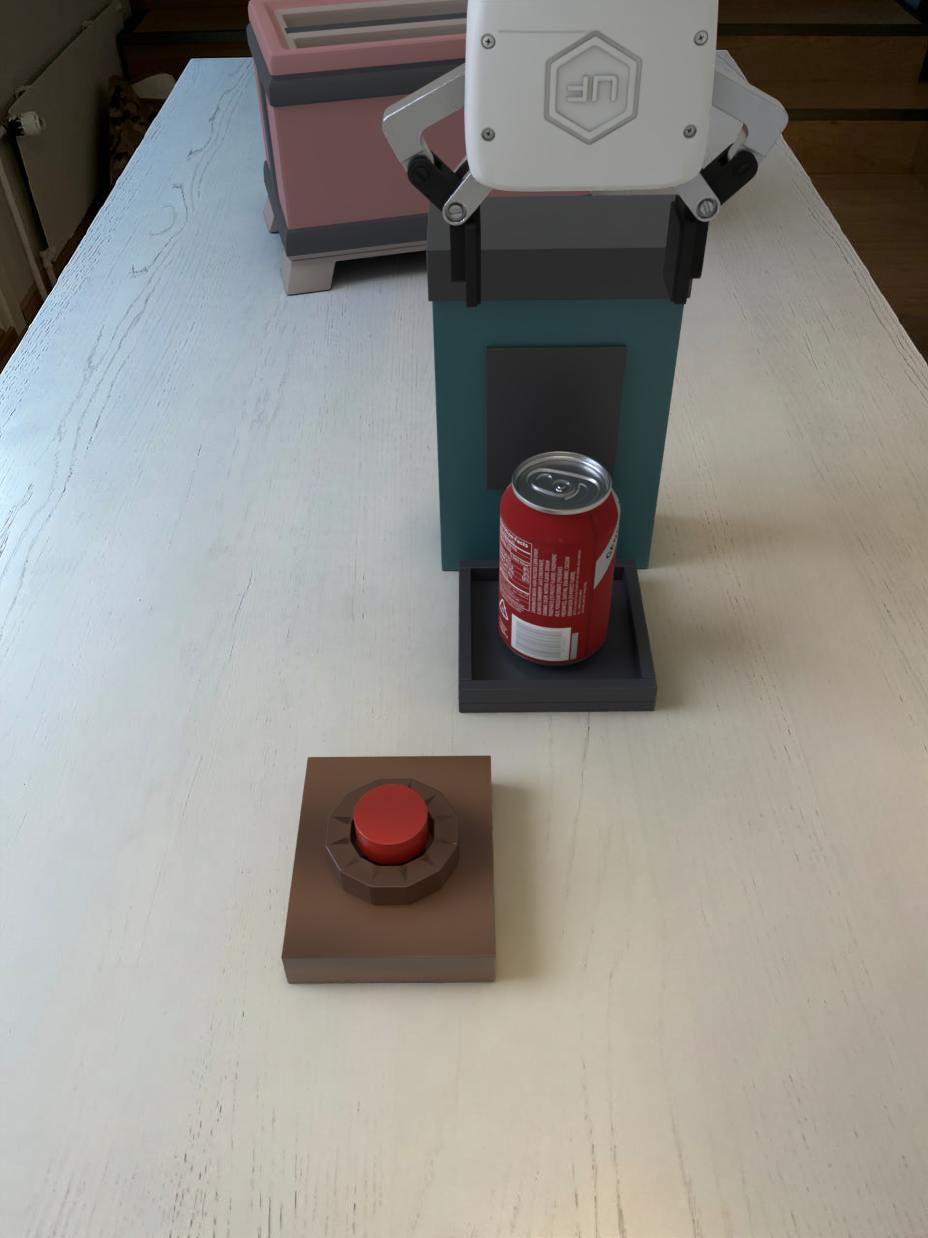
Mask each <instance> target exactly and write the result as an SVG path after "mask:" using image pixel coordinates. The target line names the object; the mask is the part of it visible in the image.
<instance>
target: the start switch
mask: <svg viewBox="0 0 928 1238" xmlns="http://www.w3.org/2000/svg"><path fill="white" fill-rule="evenodd" d="M387 784H398V785H403V786H407V787H409V788H411V789H413V790H415V791H416V792H417V793H418V794H420V795H421V797H422V798H423V799H424V801H425V803H426V806H427V811H428V828H429V836H428V841H427V843H426V846H425V847H424V849H423V850H422V851H421V852H420V853H419V854H418V855H417V856H416V857H415V858H413V859H411V860H410V861H407V862H405V863H401V864H396V865H385V864H380V863H377V862H375V861H372V860H371V859H369V858H368V857H366V856H365V855H364V854H363V853H362V851H361V850H360V848H359V846H358V843H357V838H356V831H355V824H354V810H355V807H356V805H357V803H358V801H359V800H360V799H361V797H362V796H363V795H364V794H366V793H367V792H368V791H370V790H372V789H374V788H376V787H378V786H382V785H387ZM492 786H493V785H492V756H491V755H397V756H396V755H395V756H394V755H389V756H387V755H383V756H379V755H378V756H376V755H375V756H307V758H306V767H305V775H304V782H303V790H302V798H301V805H300V812H299V820H298V827H297V836H296V842H295V851H294V857H293V858H294V859H293V866H292V873H291V881H290V888H289V897H288V902H287V903H288V904H287V912H286V918H285V927H284V933H283V943H282V948H281V949H282V950H281V956H280V958H281V962H282V966H283V970H284V974H285V977H286V982H287V984H324V983H325V984H331V983H332V984H334V983H337V984H338V983H339V984H340V983H341V984H345V983H349V984H350V983H481V982H483V983H484V982H489V983H490V982H491V983H493V982H496V921H495V920H496V919H495V917H496V916H495V913H496V911H495V876H494V869H495V868H494V832H493V831H494V829H493V826H494V825H493V791H492V790H493V789H492Z"/></svg>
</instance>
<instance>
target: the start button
mask: <svg viewBox="0 0 928 1238" xmlns="http://www.w3.org/2000/svg"><path fill="white" fill-rule="evenodd" d="M354 824H355V831H356V838H357V843H358V846H359V848H360V850H361V851H362V853H363V854H364V855H365V856H366V857H368V858H369V859H371V860H372V861H375V862H377V863H380V864H385V865H396V864H401V863H405V862H407V861H410V860H411V859H413V858H415V857H416V856H417V855H418V854H419V853H420V852H421V851H422V850H423V849H424V847H425V846H426V843H427V841H428V836H429V828H428V811H427V806H426V803H425V801H424V799H423V798H422V797H421V795H420V794H418V793H417V792H416V791H415V790H413V789H411V788H409V787H407V786H403V785H398V784H387V785H382V786H378V787H376V788H374V789H372V790H370V791H368V792H367V793H366V794H364V795H363V796H362V797H361V799H360V800H359V801H358V803H357V805H356V807H355V810H354Z"/></svg>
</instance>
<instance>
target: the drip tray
mask: <svg viewBox="0 0 928 1238" xmlns="http://www.w3.org/2000/svg"><path fill="white" fill-rule="evenodd" d="M457 647H458V650H457V651H458V658H457V660H458V661H457V663H458V665H457V667H458V669H457V671H458V672H457V673H458V674H457V675H458V678H457V680H458V681H457V682H458V683H457V684H458V685H457V686H458V687H457V688H458V689H457V693H458V694H457V695H458V697H457V698H458V713H533V712H534V713H535V712H536V713H542V712H543V713H545V712H639V711H640V712H645V711H646V712H648V711H650V712H652V711H655V707H656V701H657V693H658V683H657V676H656V670H655V664H654V660H653V653H652V648H651V642H650V636H649V630H648V624H647V619H646V613H645V606H644V602H643V596H642V590H641V584H640V577H639V573H638V569H637V567H636V562H635V559H615V566H614V575H613V584H612V594H611V603H610V612H609V621H608V631H607V636H606V639H605V641H604V643H603V645H602V646H601V648H600V649H599V650H598V651H597V652H596V653H594V654H593V655H592V656H590V657H588V658H587V659H585V660H583V661H580V662H577V663H574V664H569V665H563V666H548V665H541V664H537V663H533V662H530V661H528V660H525V659H523V658H521V657H519V656H518V655H516V654H515V653H514V652H512V651H511V650H510V649H509V648H508V647H507V646H506V645H505V643H504V642H503V640H502V638H501V636H500V632H499V560H460V561H459V570H458V646H457Z"/></svg>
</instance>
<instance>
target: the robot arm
mask: <svg viewBox="0 0 928 1238" xmlns="http://www.w3.org/2000/svg"><path fill="white" fill-rule="evenodd" d="M718 21H719V0H468V7H467V32H466V56H465V63H464V64H462V65H460V66H458V67H457V68H455V69H453V70H452V71H450V72H448V73H446V74H445V75H443V76H441V77H439V78H438V79H436V80H434V81H433V82H431V83H429V84H427V85H426V86H424V87H422V88H420V89H419V90H417V91H415V92H414V93H412V94H410V95H408V96H407V97H405V98H403V99H401V100H400V101H398V102H396V103H395V104H393V105H391V106H389V107H388V108H387V109H386V110H385V112H384V114H383V120H382V131H383V133H384V135H385V137H386V139H387V140H388V142H389V144H390V146H391V147H392V149H393V151H394V153H395V154H396V156H397V158H398V160H399V162H400V163H401V164H402V165H403V167H404V169H405V171H406V172H407V176H408V179H409V181H410V182H411V184H412V185H413V186H415V187H416V188H417V189H418V190H419V191H420V192H421V193H422V194H423V195H424V196H425V197H426V198H427V199H428V200H429V201H430V202H432V203H433V204H434V205H435V206H436V207H437V208H438V209H439V210H440V211H441V212H442V213H443V217H444V219H445V221H446V222H447V223H449V224H450V257H451V282H466V307H477V304H481V216H480V204H481V203H482V202H483V200H484V199H485V198H486V197H487V196H488V194H489V193H490V192H491V191H492V190H493V189H497V190H503V191H531V192H538V191H591V192H598V191H599V192H601V191H603V192H607V191H608V192H609V191H642V190H643V191H645V190H662V189H663V190H664V189H669V188H673V189H674V190H675V192H676V193H677V194H675V195H676V196H675V201H672V202H671V206H670V215H669V223H668V232H667V241H666V249H665V258H664V266H663V279H664V282H665V286H666V289H667V292H668V296H669V299H670V302H674V304H684V305H686V304H687V302H688V298H687V295H688V288H689V280H690V279H693V280H698V279H699V280H700V279H701V278H702V275H703V267H704V262H705V253H706V247H707V240H708V233H709V225H710V222H711V221H713V220H714V219H716V217H718V215H719V214H720V212H721V208H722V206H723V205H724V204H725V203H726V202H727V201H728V200H730V199H731V198H732V197H733V196H734V195H735V194H736V193H738V192H739V191H740V190H741V189H742V188H743V187H745V186H746V185H747V184H748V183H749V182H750V181H751V180H753V178H754V177H756V175H757V173H758V170H759V165H760V164H761V162H763V159H764V158H766V157H767V156H768V154H769V152H770V151H771V149H772V148H773V147H774V145H775V144H776V142H777V141H778V139H779V138H780V136H781V135H782V133H783V132H784V130H785V128H787V126H788V123H789V114H788V113H787V111H786V109H785V107H784V105H783V104H782V103H781V102H780V101H779V99H776V98H774V97H773V96H771V95H770V94H768V93H766V92H764V91H762V90H761V89H759V88H757V86H754V85H753V84H751V83H749V82H747V81H745V80H744V79H742V78H740V77H739V76H737V75H735V74H733V73H731V72H730V71H729V70H726V69H725V68H723V67H722V66H720V65H718V64H716V56H717V54H716V53H717V37H718ZM463 107H464V119H465V142H466V153H467V154H466V155H465V157H464V158H463V159H462V160H461V162H460V163H459V164H458V165H457V167H456V168H455V169H454V170H453V171H452V170H451V169H450V168H449V167H448V166H447V165H446V164H445V163H444V162H443V161H442V160H441V159H440V158H439V157H438V156H437V155H436V154H435V153H433V152H432V151H431V150H430V149H429V147H428V146H427V144H426V142H425V139H424V137H423V135H422V131H424V130H425V129H426V128H428V127H429V126H431V125H433V124H435V123H437V122H438V121H440V120H442V119H444V118H445V117H447V116H449V115H451V114H453V113H454V112H456V111H458V110H460V109H461V108H463ZM713 107H714V108H716V109H717V110H718V111H721V112H722V113H724V114H726V115H728V116H730V117H732V118H733V119H735V120H737V121H739V122H740V123H741V124H742V125H741V129H740V130H739V131H738V132H737V137H736V138H735V140H734V142H732V143H731V144H729V145H728V146H727V147H725V149H724V150H723V151H721V152H720V153H719V154H718V155H717V156H715V158H714V159H713V160H711V161H710V162H709V163H708V164H707V165H706V166H705V167H703V166H704V164H705V160H706V155H707V150H708V143H709V136H710V129H711V117H712V108H713Z"/></svg>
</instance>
